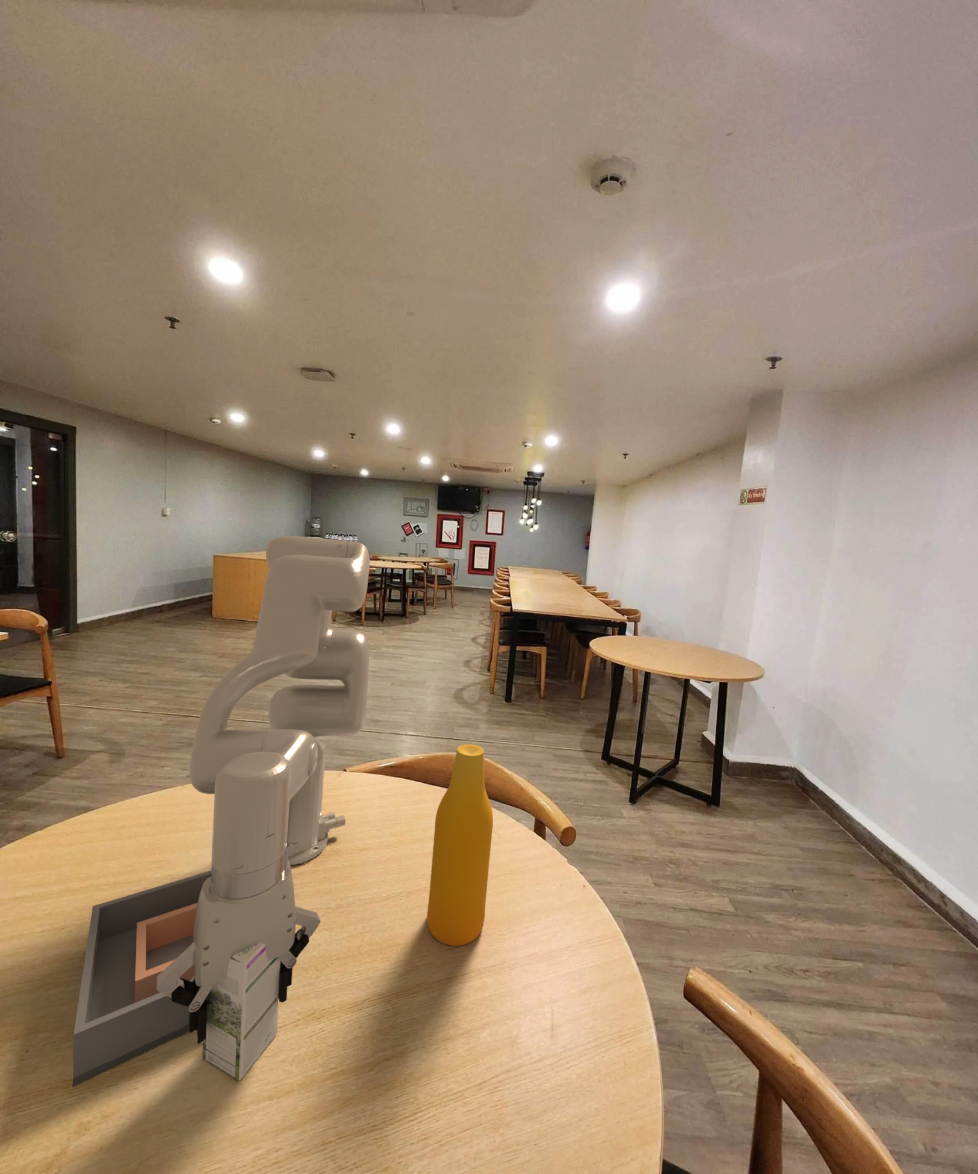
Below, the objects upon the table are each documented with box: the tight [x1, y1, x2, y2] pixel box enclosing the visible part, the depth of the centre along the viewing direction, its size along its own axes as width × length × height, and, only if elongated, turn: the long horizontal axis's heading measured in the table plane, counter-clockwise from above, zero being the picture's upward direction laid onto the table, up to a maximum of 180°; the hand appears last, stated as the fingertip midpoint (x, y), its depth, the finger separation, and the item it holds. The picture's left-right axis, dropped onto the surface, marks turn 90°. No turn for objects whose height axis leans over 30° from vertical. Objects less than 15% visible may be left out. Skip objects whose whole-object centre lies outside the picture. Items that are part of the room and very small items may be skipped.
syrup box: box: [202, 942, 280, 1082], centre depth 52 cm, size 6×6×14 cm
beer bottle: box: [426, 743, 494, 947], centre depth 72 cm, size 9×9×29 cm
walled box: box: [72, 870, 211, 1088], centre depth 61 cm, size 20×20×6 cm
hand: (242, 1010), depth 52 cm, fingers closed on syrup box, 7 cm apart
